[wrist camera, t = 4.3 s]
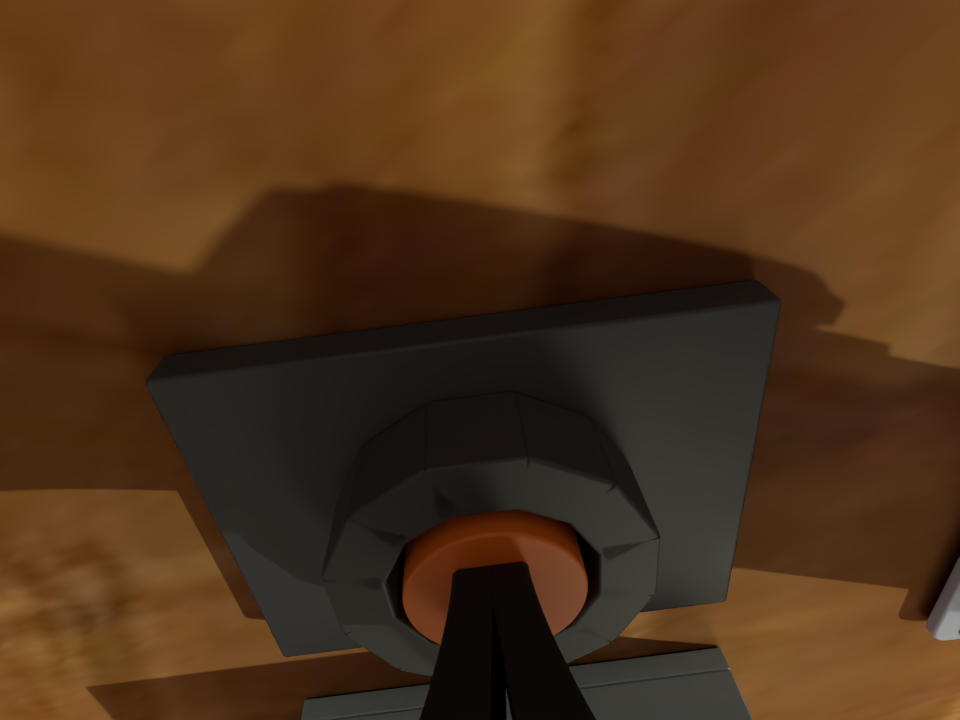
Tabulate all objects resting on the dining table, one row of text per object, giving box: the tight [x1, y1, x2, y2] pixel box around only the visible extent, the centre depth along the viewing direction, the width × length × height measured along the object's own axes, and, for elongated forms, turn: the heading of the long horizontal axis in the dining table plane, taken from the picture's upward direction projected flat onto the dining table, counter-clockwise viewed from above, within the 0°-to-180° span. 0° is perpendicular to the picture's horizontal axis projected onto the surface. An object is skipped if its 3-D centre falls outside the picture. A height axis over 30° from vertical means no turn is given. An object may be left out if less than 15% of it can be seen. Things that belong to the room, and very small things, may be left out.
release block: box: [146, 280, 781, 676], centre depth 12 cm, size 12×9×3 cm
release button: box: [402, 509, 588, 645], centre depth 12 cm, size 4×4×2 cm
